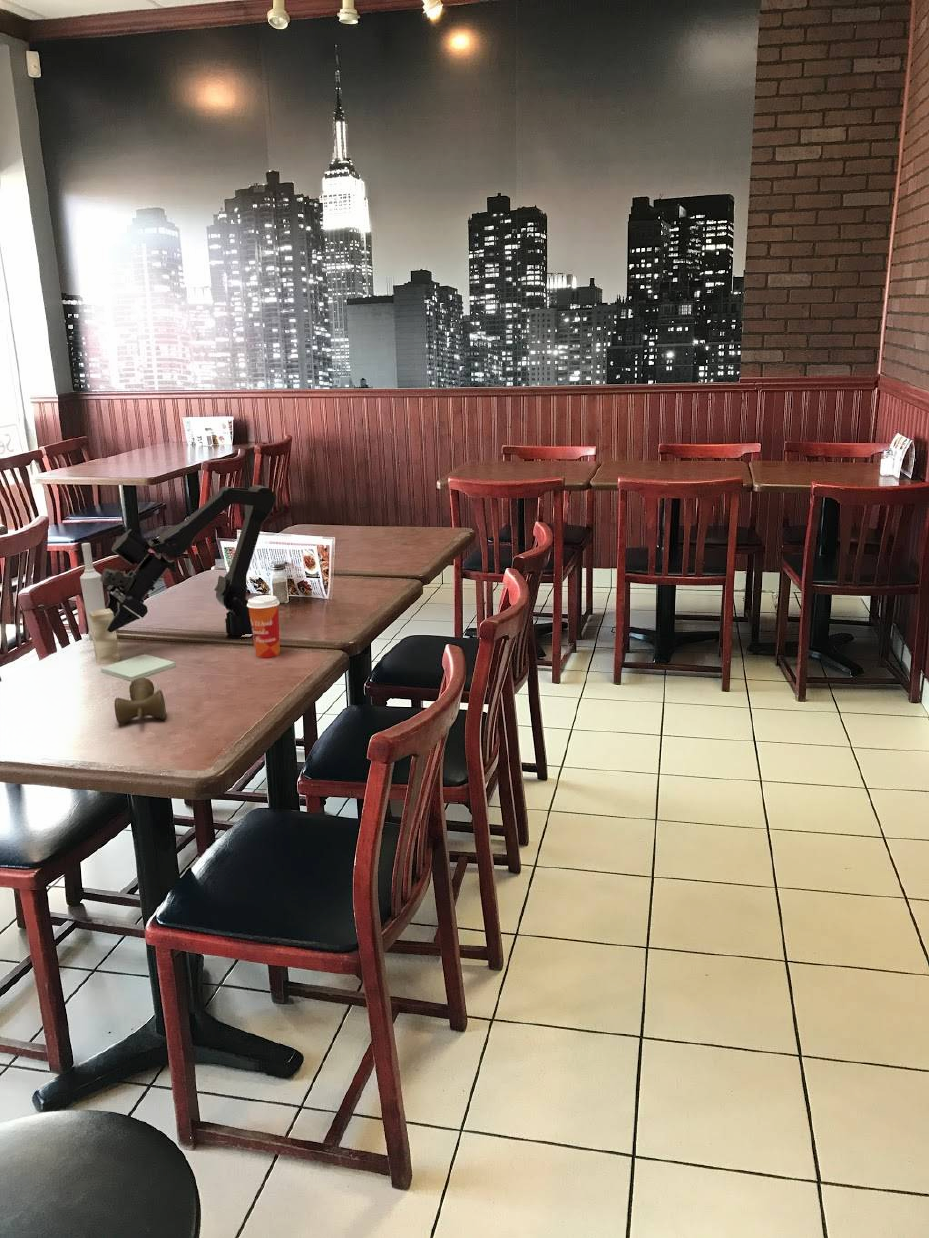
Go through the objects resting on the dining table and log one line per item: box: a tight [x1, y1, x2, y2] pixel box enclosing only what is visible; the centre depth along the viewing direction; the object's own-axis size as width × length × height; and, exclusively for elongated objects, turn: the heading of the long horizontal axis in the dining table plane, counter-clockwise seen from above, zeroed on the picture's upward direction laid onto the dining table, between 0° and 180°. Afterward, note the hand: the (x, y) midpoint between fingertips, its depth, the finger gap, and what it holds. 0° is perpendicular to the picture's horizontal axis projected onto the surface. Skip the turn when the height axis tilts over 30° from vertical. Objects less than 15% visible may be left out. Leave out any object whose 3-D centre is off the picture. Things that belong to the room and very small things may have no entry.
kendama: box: [114, 677, 167, 726], centre depth 206 cm, size 6×10×20 cm
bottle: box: [79, 542, 106, 641], centre depth 258 cm, size 5×5×25 cm
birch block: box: [89, 608, 121, 665], centre depth 241 cm, size 5×5×12 cm
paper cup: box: [247, 594, 281, 659], centre depth 240 cm, size 8×8×14 cm
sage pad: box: [100, 653, 176, 682], centre depth 234 cm, size 12×12×1 cm
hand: (105, 627), depth 240 cm, fingers open, 9 cm apart
